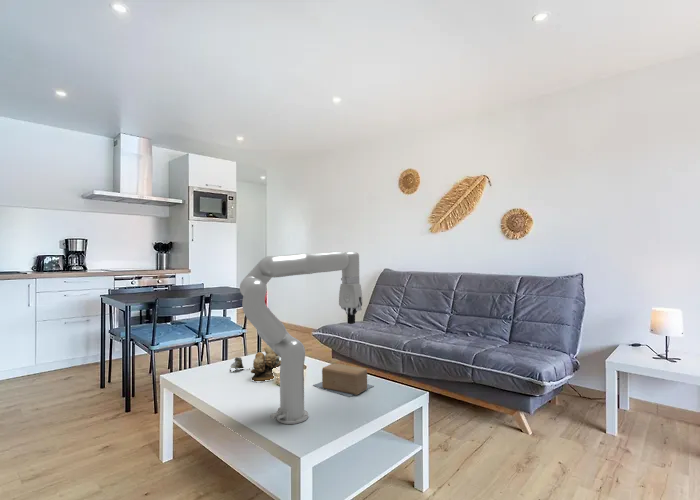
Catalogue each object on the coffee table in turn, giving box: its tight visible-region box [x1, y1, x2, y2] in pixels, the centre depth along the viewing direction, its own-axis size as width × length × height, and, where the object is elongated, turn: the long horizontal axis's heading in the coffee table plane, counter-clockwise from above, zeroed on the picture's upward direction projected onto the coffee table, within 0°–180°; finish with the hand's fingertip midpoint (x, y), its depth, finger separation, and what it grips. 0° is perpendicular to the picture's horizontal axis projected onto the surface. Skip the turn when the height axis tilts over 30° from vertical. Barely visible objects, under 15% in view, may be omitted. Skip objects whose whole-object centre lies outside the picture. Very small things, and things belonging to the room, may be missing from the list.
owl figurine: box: [250, 345, 281, 381], centre depth 209 cm, size 18×12×17 cm, turn 136°
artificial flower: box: [230, 357, 245, 370], centre depth 222 cm, size 9×22×10 cm, turn 82°
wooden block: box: [321, 362, 368, 396], centre depth 190 cm, size 10×10×20 cm
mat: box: [312, 381, 375, 398], centre depth 194 cm, size 18×24×1 cm
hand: (351, 323), depth 170 cm, fingers closed
